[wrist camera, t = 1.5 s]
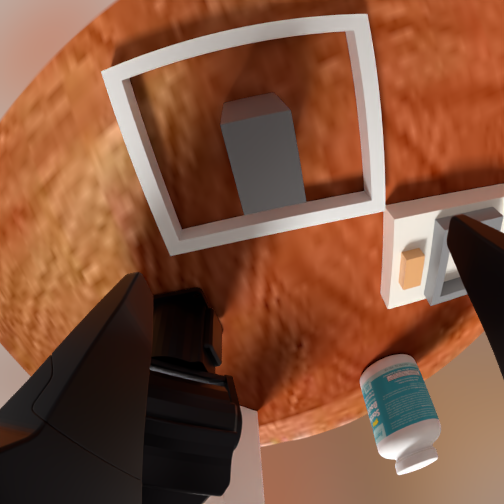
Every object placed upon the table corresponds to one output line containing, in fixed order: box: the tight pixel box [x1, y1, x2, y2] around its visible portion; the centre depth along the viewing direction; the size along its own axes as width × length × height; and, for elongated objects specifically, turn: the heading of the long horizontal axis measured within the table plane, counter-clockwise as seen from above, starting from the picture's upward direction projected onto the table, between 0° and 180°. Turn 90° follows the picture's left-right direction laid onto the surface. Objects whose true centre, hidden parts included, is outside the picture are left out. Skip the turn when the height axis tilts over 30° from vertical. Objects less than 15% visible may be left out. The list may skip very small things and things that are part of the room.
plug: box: [220, 92, 306, 215], centre depth 16 cm, size 3×4×6 cm, turn 12°
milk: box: [203, 406, 265, 504], centre depth 30 cm, size 6×6×22 cm
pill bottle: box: [360, 354, 441, 475], centre depth 30 cm, size 8×7×14 cm
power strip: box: [380, 184, 504, 309], centre depth 23 cm, size 21×9×4 cm, turn 102°
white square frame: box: [101, 14, 385, 256], centre depth 18 cm, size 15×13×2 cm
